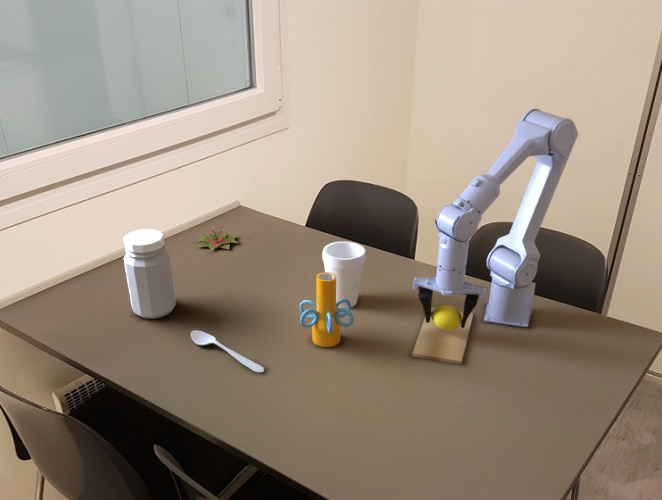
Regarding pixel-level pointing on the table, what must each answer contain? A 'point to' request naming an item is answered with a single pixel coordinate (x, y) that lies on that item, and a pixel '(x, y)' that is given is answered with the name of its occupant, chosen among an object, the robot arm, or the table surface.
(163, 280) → the jar
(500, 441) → the table surface
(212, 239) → the lily flower
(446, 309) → the lemon
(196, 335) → the spoon
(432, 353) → the birch board
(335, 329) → the cylinder
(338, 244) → the foam cup
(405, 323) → the table surface
